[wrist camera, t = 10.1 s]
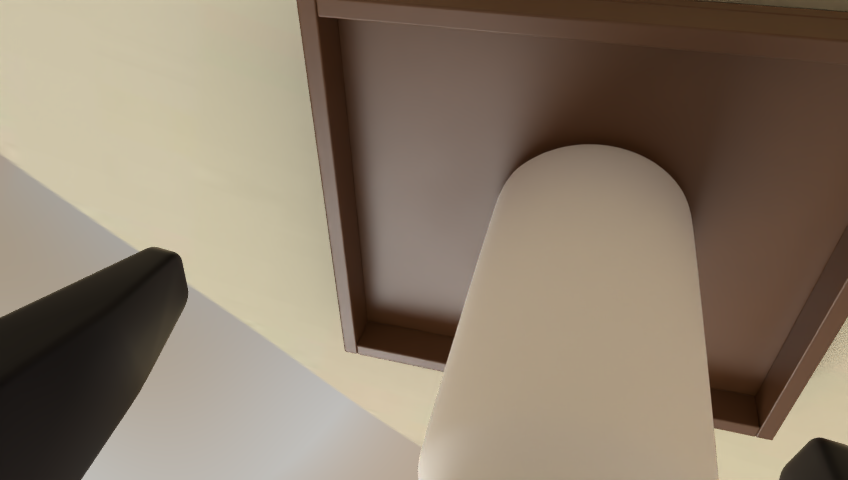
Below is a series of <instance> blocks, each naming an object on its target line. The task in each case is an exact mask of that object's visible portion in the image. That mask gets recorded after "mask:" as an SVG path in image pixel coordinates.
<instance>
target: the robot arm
mask: <svg viewBox="0 0 848 480" xmlns="http://www.w3.org/2000/svg"><path fill="white" fill-rule="evenodd" d="M187 298H188V288H187V282H186V278H185V273H184V268H183V263H182V259H181V257H180V256H179V255H178V254H177V253H175V252H172V251H169V250H165V249H162V248H158V247H150V248H147V249H145V250H142V251H140V252H138V253H136V254H134V255H132V256H130V257H128V258H126V259H123V260H121V261H119V262H117V263H115V264H113V265H111V266H109V267H107V268H104V269H102V270H100V271H98V272H96V273H94V274H92V275H90V276H87V277H85V278H83V279H81V280H79V281H77V282H75V283H73V284H71V285H69V286H66V287H64V288H62V289H60V290H58V291H56V292H54V293H52V294H50V295H47V296H46V297H43V298H41V299H39V300H37V301H35V302H32V303H30V304H28V305H26V306H24V307H22V308H20V309H18V310H16V311H13V312H11V313H9V314H7V315H5V316H3V317H1V318H0V480H81V479H82V478H83V476H84V474H85V473H86V471H87V470H88V469H89V467H90V466H91V464H92V463H93V461H94V460H95V458H96V457H97V455H98V454H99V452H100V451H101V449H102V448H103V446H104V445H105V443H106V442H107V440H108V439H109V437H110V436H111V434H112V433H113V431H114V430H115V428H116V427H117V425H118V424H119V423H120V421H121V420H122V418H123V417H124V415H125V414H126V412H127V410H128V409H129V408H130V406H131V405H132V403H133V401H134V400H135V398H136V397H137V395H138V394H139V392H140V390H141V388H142V386H143V385H144V383H145V381H146V380H147V378H148V376H149V374H150V372H151V370H152V368H153V366H154V364H155V362H156V361H157V359H158V357H159V355H160V353H161V351H162V349H163V347H164V345H165V343H166V341H167V339H168V338H169V336H170V334H171V332H172V330H173V328H174V326H175V324H176V322H177V321H178V318H179V317H180V315H181V313H182V311H183V309H184V307H185V305H186V302H187ZM779 480H848V446H847V445H845V444H841V443H838V442H835V441H831V440H828V439H824V438H815V439H812V440H811V441H809V442H808V443H807V444H806V445H805V446H804V447H803V448H802V449H801V450H800V451H799V452H798V453H797V454H796V455H795V456H794V457H793V458H792V459H791V460H790V461H789V462H788V463H787V464H786V466H785V467H784V468H783V470H782V472H781V475H780V479H779Z"/></svg>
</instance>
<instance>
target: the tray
mask: <svg viewBox="0 0 848 480" xmlns="http://www.w3.org/2000/svg"><path fill="white" fill-rule="evenodd" d="M297 7H298V14H299V21H300V29H301V36H302V43H303V50H304V58H305V65H306V72H307V79H308V87H309V94H310V101H311V108H312V116H313V123H314V130H315V137H316V145H317V152H318V159H319V166H320V174H321V181H322V188H323V195H324V203H325V210H326V217H327V224H328V231H329V239H330V246H331V253H332V260H333V268H334V275H335V282H336V289H337V297H338V304H339V311H340V318H341V326H342V333H343V340H344V347H345V351H346V352H351V353H358V354H360V355H365V356H370V357H375V358H380V359H384V360H389V361H394V362H399V363H404V364H408V365H413V366H418V367H423V368H428V369H433V370H437V371H442V372H444V370H445V366H446V363H447V360H448V356H449V353H450V350H451V346H452V343H453V340H454V337H455V333H456V330H457V327H458V324H459V320H460V317H461V314H462V310H463V307H464V304H465V301H466V297H467V294H468V291H469V288H470V284H471V281H472V278H473V275H474V271H475V268H476V265H477V262H478V258H479V255H480V252H481V249H482V246H483V242H484V239H485V236H486V233H487V230H488V226H489V223H490V220H491V217H492V214H493V211H494V208H495V205H496V202H497V200H498V197H499V195H500V192H501V190H502V188H503V186H504V185H505V183H506V181H507V180H508V178H509V177H510V176H511V175H512V174H513V172H514V171H515V170H516V169H517V168H519V167H520V166H521V165H523V164H524V163H526V162H527V161H529V160H531V159H533V158H534V157H536V156H538V155H541V154H543V153H545V152H548V151H551V150H554V149H557V148H561V147H566V146H572V145H582V144H597V145H607V146H613V147H618V148H622V149H625V150H628V151H631V152H634V153H637V154H639V155H641V156H643V157H645V158H647V159H649V160H651V161H652V162H654V163H656V164H657V165H658V166H660V167H661V168H662V169H664V170H665V171H666V172H667V173H668V174H669V175H670V176H671V177H672V178H673V179H674V180H675V181H676V183H677V184H678V185H679V187H680V188H681V190H682V191H683V193H684V195H685V197H686V200H687V202H688V205H689V208H690V212H691V217H692V224H693V232H694V240H695V249H696V258H697V267H698V276H699V286H700V295H701V305H702V315H703V324H704V334H705V344H706V354H707V364H708V374H709V383H710V394H711V404H712V414H713V424H714V428H716V429H721V430H726V431H731V432H736V433H740V434H745V435H750V436H756V437H759V438H764V439H769V440H773V438H774V436H775V435H776V433H777V432H778V430H779V428H780V427H781V425H782V423H783V422H784V420H785V418H786V417H787V415H788V413H789V412H790V410H791V409H792V407H793V405H794V404H795V402H796V400H797V399H798V397H799V395H800V394H801V392H802V391H803V389H804V387H805V386H806V384H807V382H808V381H809V379H810V377H811V376H812V374H813V373H814V371H815V369H816V368H817V366H818V364H819V363H820V361H821V359H822V358H823V356H824V355H825V353H826V351H827V350H828V348H829V346H830V345H831V343H832V341H833V340H834V338H835V337H836V335H837V333H838V332H839V330H840V328H841V327H842V325H843V323H844V322H845V320H846V319H847V317H848V12H841V11H828V10H815V9H801V8H788V7H775V6H761V5H748V4H735V3H721V2H708V1H695V0H297Z"/></svg>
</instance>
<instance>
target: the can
mask: <svg viewBox="0 0 848 480" xmlns="http://www.w3.org/2000/svg"><path fill="white" fill-rule="evenodd" d="M418 480H719V478H718V467H717V456H716V445H715V435H714V424H713V414H712V404H711V394H710V383H709V374H708V364H707V354H706V344H705V334H704V324H703V315H702V305H701V295H700V286H699V276H698V267H697V258H696V249H695V240H694V232H693V224H692V217H691V212H690V208H689V205H688V202H687V200H686V197H685V195H684V193H683V191H682V190H681V188H680V187H679V185H678V184H677V183H676V181H675V180H674V179H673V178H672V177H671V176H670V175H669V174H668V173H667V172H666V171H665V170H664V169H662V168H661V167H660V166H658V165H657V164H656V163H654V162H652V161H651V160H649V159H647V158H645V157H643V156H641V155H639V154H637V153H634V152H631V151H628V150H625V149H622V148H618V147H613V146H607V145H597V144H582V145H572V146H566V147H561V148H557V149H554V150H551V151H548V152H545V153H543V154H541V155H538V156H536V157H534V158H533V159H531V160H529V161H527V162H526V163H524V164H523V165H521V166H520V167H519V168H517V169H516V170H515V171H514V172H513V174H512V175H511V176H510V177H509V178H508V180H507V181H506V183H505V185H504V186H503V188H502V190H501V192H500V195H499V197H498V200H497V202H496V205H495V208H494V211H493V214H492V217H491V220H490V223H489V226H488V230H487V233H486V236H485V239H484V242H483V246H482V249H481V252H480V255H479V258H478V262H477V265H476V268H475V271H474V275H473V278H472V281H471V284H470V288H469V291H468V294H467V297H466V301H465V304H464V307H463V310H462V314H461V317H460V320H459V324H458V327H457V330H456V333H455V337H454V340H453V343H452V346H451V350H450V353H449V356H448V360H447V363H446V366H445V370H444V373H443V376H442V380H441V383H440V386H439V389H438V393H437V396H436V399H435V403H434V406H433V410H432V413H431V416H430V420H429V423H428V427H427V430H426V434H425V438H424V441H423V445H422V449H421V453H420V459H419V464H418Z"/></svg>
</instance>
